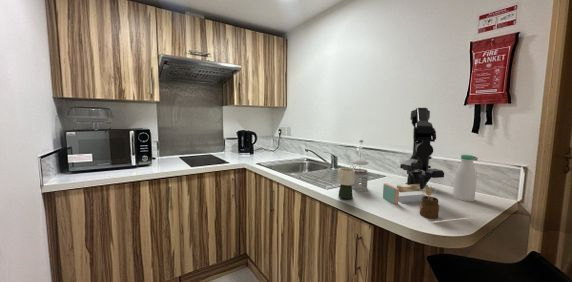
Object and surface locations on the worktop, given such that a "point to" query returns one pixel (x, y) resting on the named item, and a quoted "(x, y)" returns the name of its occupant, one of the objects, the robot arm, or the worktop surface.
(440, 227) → the worktop surface
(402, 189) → the stick
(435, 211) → the utensil holder
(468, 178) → the milk bottle
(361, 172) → the french press
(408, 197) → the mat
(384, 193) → the tile
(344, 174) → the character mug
